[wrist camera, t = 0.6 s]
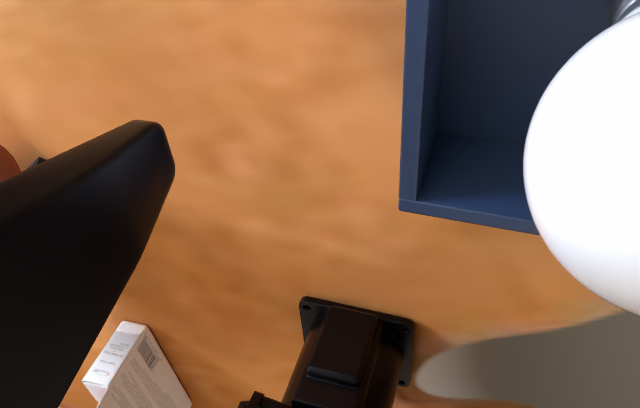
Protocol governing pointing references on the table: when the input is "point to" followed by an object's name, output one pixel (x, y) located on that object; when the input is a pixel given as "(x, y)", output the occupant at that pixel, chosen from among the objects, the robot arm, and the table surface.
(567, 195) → the lightbulb
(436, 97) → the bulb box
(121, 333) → the ink cartridge box
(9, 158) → the character figurine
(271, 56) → the table surface
